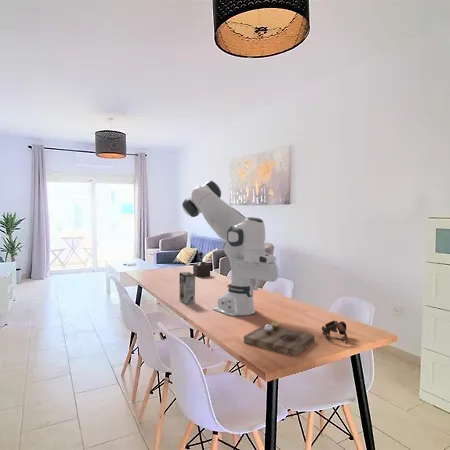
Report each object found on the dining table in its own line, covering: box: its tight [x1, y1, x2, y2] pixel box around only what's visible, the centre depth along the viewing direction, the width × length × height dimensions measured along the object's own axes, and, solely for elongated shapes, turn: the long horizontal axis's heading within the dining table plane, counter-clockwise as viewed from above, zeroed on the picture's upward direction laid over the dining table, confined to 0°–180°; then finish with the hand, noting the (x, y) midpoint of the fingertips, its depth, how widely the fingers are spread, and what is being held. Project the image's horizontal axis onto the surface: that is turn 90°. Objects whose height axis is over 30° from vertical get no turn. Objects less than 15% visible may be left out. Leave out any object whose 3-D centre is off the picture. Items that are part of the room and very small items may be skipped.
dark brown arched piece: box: [321, 320, 349, 342], centre depth 140 cm, size 12×10×8 cm
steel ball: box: [264, 323, 273, 333], centre depth 138 cm, size 4×4×4 cm
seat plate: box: [243, 323, 315, 357], centre depth 135 cm, size 22×18×2 cm
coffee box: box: [179, 271, 196, 305], centre depth 193 cm, size 9×6×16 cm
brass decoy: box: [270, 320, 280, 329], centre depth 143 cm, size 4×4×4 cm
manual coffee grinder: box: [192, 251, 211, 279], centre depth 271 cm, size 16×11×18 cm
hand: (254, 289), depth 141 cm, fingers closed
